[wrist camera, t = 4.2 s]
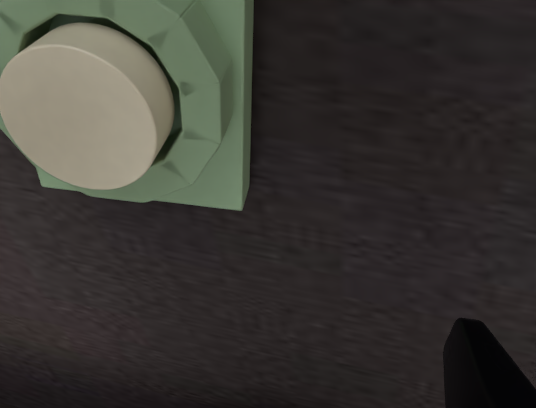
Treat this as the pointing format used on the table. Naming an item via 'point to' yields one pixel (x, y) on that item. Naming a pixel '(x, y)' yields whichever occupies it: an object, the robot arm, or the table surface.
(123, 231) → the table surface
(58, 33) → the button
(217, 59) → the control block
